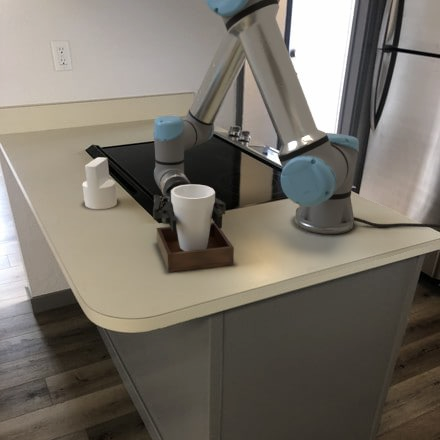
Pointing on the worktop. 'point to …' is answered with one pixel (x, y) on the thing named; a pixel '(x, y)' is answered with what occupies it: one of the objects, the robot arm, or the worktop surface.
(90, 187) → the base with upright slab
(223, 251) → the caddy
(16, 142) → the worktop surface
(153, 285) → the worktop surface
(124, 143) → the worktop surface
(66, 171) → the worktop surface
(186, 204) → the foam cup
